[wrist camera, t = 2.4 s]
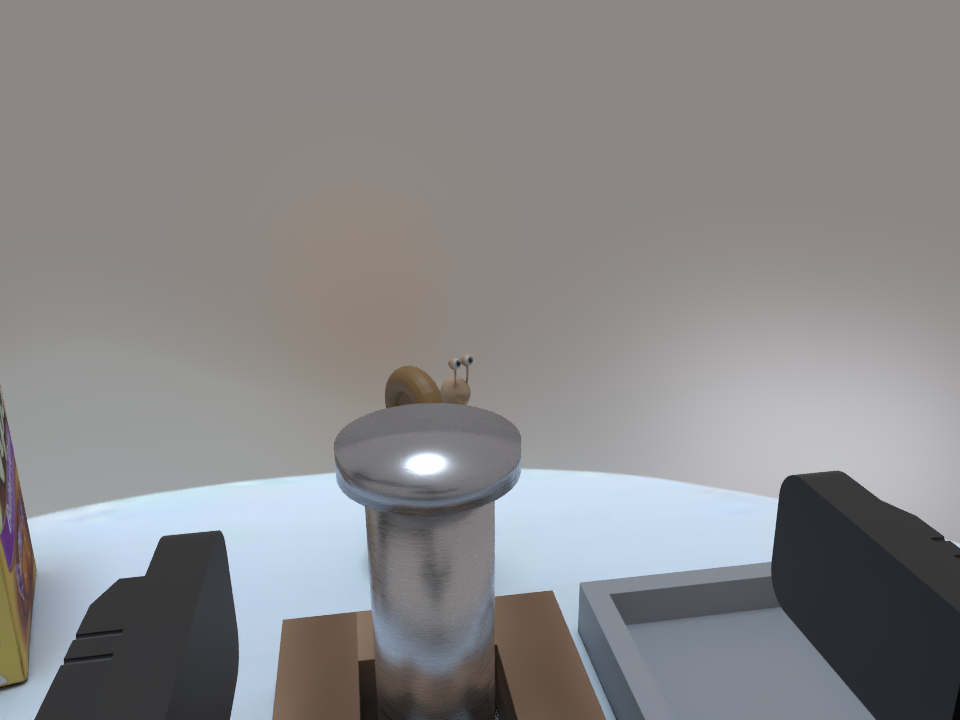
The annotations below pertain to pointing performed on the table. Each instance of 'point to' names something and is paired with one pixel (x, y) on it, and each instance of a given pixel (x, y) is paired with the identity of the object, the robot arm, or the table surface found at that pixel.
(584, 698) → the walnut block
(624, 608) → the grey tray
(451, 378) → the snail figurine
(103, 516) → the table surface
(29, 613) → the candy box
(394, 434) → the steel pin
